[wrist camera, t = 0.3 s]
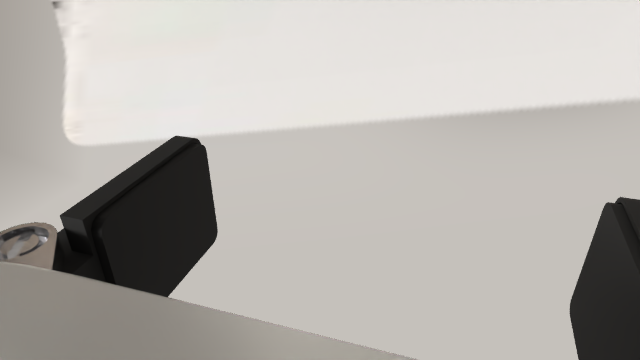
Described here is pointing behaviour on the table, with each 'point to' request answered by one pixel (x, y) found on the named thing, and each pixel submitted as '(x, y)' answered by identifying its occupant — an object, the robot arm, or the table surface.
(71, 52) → the table surface
